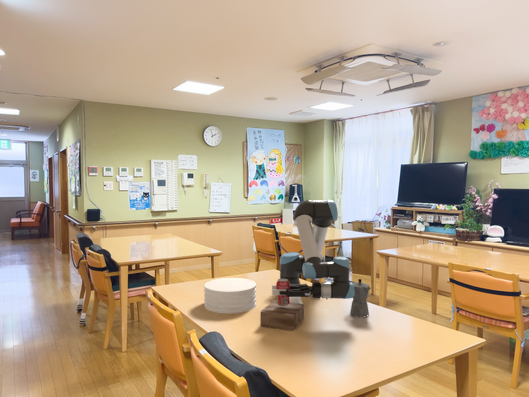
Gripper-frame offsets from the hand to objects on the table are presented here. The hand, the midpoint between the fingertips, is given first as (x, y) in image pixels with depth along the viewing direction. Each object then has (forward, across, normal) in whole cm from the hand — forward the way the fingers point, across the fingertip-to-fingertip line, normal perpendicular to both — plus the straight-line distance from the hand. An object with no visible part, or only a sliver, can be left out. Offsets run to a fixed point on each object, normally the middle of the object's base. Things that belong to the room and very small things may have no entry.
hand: (272, 290), depth 182 cm
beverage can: (-5, 0, -7) cm, 9 cm away
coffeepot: (-44, +12, -16) cm, 48 cm away
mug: (-11, +18, -16) cm, 26 cm away
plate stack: (+23, +26, -16) cm, 38 cm away
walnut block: (-5, 0, -16) cm, 16 cm away
